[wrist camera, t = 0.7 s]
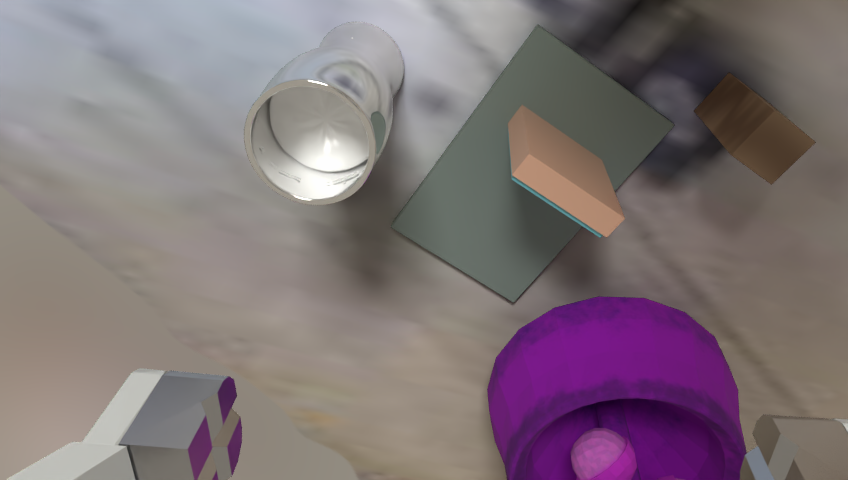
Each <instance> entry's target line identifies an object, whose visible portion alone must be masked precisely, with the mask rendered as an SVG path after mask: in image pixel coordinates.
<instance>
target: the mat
mask: <svg viewBox="0 0 848 480" xmlns="http://www.w3.org/2000/svg"><path fill="white" fill-rule="evenodd" d="M521 105H523V106H525V107H526V108H528V109H529V110H531V111H532V112H533V113H535V114H536V115H538V116H539V117H541V118H542V119H544V120H545V121H546V122H548V123H549V124H551V125H552V126H554V127H555V128H557V129H558V130H559V131H561V132H562V133H564V134H565V135H567V136H568V137H570V138H571V139H573V140H574V141H575V142H577V143H578V144H580V145H581V146H583V147H584V148H586V149H587V150H588V151H590V152H591V153H593V154H594V155H596V156H597V157H599V158H600V159H601V160H602V161H603V164H604V166H605V169H606V171H607V174H608V176H609V179H610V181H611V184H612V186H613V189H614V192H615V190H616V189H617V188H618V187H619V186H620V185H621V184H622V183H623V182H624V181H625V179H626V178H627V177H628V176H629V175H630V174H631V173H632V172H633V171H634V170H635V168H636V167H637V166H638V165H639V164H640V163H641V162H642V161H643V160H644V159H645V157H646V156H647V155H648V154H649V153H650V152H651V151H652V150H653V149H654V148H655V146H656V145H657V144H658V143H659V142H660V141H661V140H662V139H663V138H664V137H665V135H666V134H667V133H668V132H669V131H670V130H671V129H672V128H673V127H674V126H675V125H674V124H673V122H671V121H670V120H668V119H667V118H666V117H664V116H663V115H662V114H660V113H659V112H657V111H656V110H655V109H653V108H652V107H651V106H649V105H648V104H646V103H645V102H644V101H642V100H641V99H640V98H638V97H637V96H635V95H634V94H633V93H631V92H630V91H629V90H627V89H626V88H624V87H623V86H622V85H620V84H619V83H618V82H616V81H615V80H613V79H612V78H611V77H609V76H608V75H607V74H605V73H604V72H602V71H601V70H600V69H598V68H597V67H596V66H594V65H593V64H591V63H590V62H589V61H587V60H586V59H585V58H583V57H582V56H580V55H579V54H578V53H576V52H575V51H574V50H572V49H571V48H569V47H568V46H567V45H565V44H564V43H563V42H561V41H560V40H558V39H557V38H556V37H554V36H553V35H552V34H550V33H549V32H547V31H546V30H545V29H543V28H542V27H541V26H539V25H538V24H537V26H536V27H535V28H534V30H533V31H532V33H531V34H530V35H529V37H528V38H527V39H526V41H525V42H524V44H523V45H522V46H521V48H520V49H519V50H518V52H517V53H516V54H515V56H514V57H513V59H512V60H511V61H510V63H509V64H508V65H507V67H506V68H505V69H504V71H503V72H502V74H501V75H500V76H499V78H498V79H497V80H496V82H495V83H494V85H493V86H492V87H491V89H490V90H489V91H488V93H487V94H486V95H485V97H484V98H483V100H482V101H481V102H480V104H479V105H478V106H477V108H476V109H475V111H474V112H473V113H472V115H471V116H470V117H469V119H468V120H467V121H466V123H465V124H464V126H463V127H462V128H461V130H460V131H459V132H458V134H457V135H456V137H455V138H454V139H453V141H452V142H451V143H450V145H449V146H448V147H447V149H446V150H445V152H444V153H443V154H442V156H441V157H440V158H439V160H438V161H437V163H436V164H435V165H434V167H433V168H432V169H431V171H430V172H429V173H428V175H427V176H426V178H425V179H424V180H423V182H422V183H421V184H420V186H419V187H418V189H417V190H416V191H415V193H414V194H413V195H412V197H411V198H410V199H409V201H408V202H407V204H406V205H405V206H404V208H403V209H402V210H401V212H400V213H399V215H398V216H397V217H396V219H395V220H394V221H393V223H392V225H391V228H393V229H394V230H396V231H398V232H399V233H401V234H403V235H404V236H406V237H407V238H409V239H411V240H412V241H414V242H416V243H417V244H419V245H420V246H422V247H424V248H425V249H427V250H429V251H430V252H432V253H434V254H435V255H437V256H438V257H440V258H442V259H443V260H445V261H447V262H448V263H450V264H451V265H453V266H455V267H456V268H458V269H460V270H461V271H463V272H464V273H466V274H468V275H469V276H471V277H473V278H474V279H476V280H477V281H479V282H481V283H482V284H484V285H486V286H487V287H489V288H491V289H492V290H494V291H495V292H497V293H499V294H500V295H502V296H504V297H505V298H507V299H508V300H510V301H512V302H513V303H514V302H515V300H516V299H517V298H518V297H519V296H520V295H521V294H522V293H523V292H524V291H525V289H526V288H527V287H528V286H529V285H530V284H531V283H532V282H533V281H534V280H535V278H536V277H537V276H538V275H539V274H540V273H541V272H542V271H543V270H544V269H545V267H546V266H547V265H548V264H549V263H550V262H551V261H552V260H553V259H554V258H555V256H556V255H557V254H558V253H559V252H560V251H561V250H562V249H563V248H564V247H565V245H566V244H567V243H568V242H569V241H570V240H571V239H572V238H573V237H574V236H575V234H576V233H577V232H578V231H579V230H580V229H581V228H582V227H583V226H581V225H580V224H578V223H577V222H575V221H574V220H572V219H571V218H569V217H568V216H566V215H565V214H563V213H562V212H560V211H559V210H557V209H556V208H554V207H553V206H551V205H550V204H548V203H547V202H545V201H544V200H542V199H540V198H539V197H537V196H536V195H534V194H533V193H531V192H530V191H528V190H527V189H525V188H524V187H522V186H521V185H519V184H518V183H516V182H515V181H513V180H512V179H511V166H510V153H509V140H508V122H509V121H510V120H511V118H512V117H513V116H514V114H515V113H516V112H517V111H518V109H519V108H520V107H521Z"/></svg>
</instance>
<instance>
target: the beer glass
mask: <svg viewBox="0 0 848 480" xmlns="http://www.w3.org/2000/svg"><path fill="white" fill-rule="evenodd" d="M403 75H404V63H403V58H402V55H401V52H400V50H399V48H398V46H397V44H396V43H395V41H394V40H393V39H392V37H391V36H390V35H389V34H388V33H386V32H385V31H384V30H382V29H381V28H379V27H377V26H375V25H373V24H370V23H366V22H348V23H344V24H341V25H339V26H337V27H335V28H334V29H332V30H331V31H330V32H329V33H328V34H327V35H326V36H325V37H324V38H323V40H322V42H321V43H320V45H319V47H318V48H315V49H312V50H310V51H307V52H305V53H303V54H301V55H299V56H297V57H295V58H294V59H293V60H291V61H290V62H289V63H287V64H286V65H285V66H284V67H283V68H281V69H280V70H279V71H278V73H277V74H276V75H275V76H274V77H273V78H272V79H271V81H270V82H269V83H268V84H267V86H266V87H265V89H264V90H263V92H262V93H261V95H260V96H259V97H258V99H257V100H256V101H255V102H254V104H253V105H252V107H251V109H250V111H249V113H248V115H247V118H246V122H245V127H244V143H245V149H246V153H247V156H248V159H249V161H250V163H251V165H252V167H253V169H254V170H255V172H256V173H257V175H258V176H259V177H260V178H261V180H262V181H263V182H264V183H265V184H266V185H267V186H268V187H270V188H271V189H272V190H273V191H275V192H276V193H278V194H279V195H281V196H283V197H285V198H287V199H289V200H292V201H294V202H298V203H301V204H307V205H328V204H333V203H336V202H339V201H342V200H344V199H346V198H348V197H350V196H351V195H353V194H354V193H355V192H356V191H358V190H359V189H360V188H361V187H362V186H363V184H364V183H365V182H366V180H367V179H368V177H369V175H370V173H371V171H372V169H373V168H374V166H375V164H376V163H377V161H378V159H379V158H380V156H381V154H382V152H383V150H384V147H385V145H386V143H387V140H388V137H389V133H390V130H391V126H392V119H393V97H394V96H395V95H396V93H397V92H398V90H399V88H400V86H401V83H402V80H403Z"/></svg>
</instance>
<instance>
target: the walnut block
mask: <svg viewBox="0 0 848 480" xmlns="http://www.w3.org/2000/svg"><path fill="white" fill-rule="evenodd" d="M694 112H695V113H696V114H697V115H698V117H699V118H700V119H701V120H702V121H703V122H704V124H705V125H706V126H707V127H708V128H709V130H710V131H711V132H712V133H713V134H714V135H715V137H716V138H717V139H718V140H719V141H720V143H721V144H722V145H723V146H724V147H725V148H726V150H727V151H728V152H729V153H730V154H731V155H732V156H733V157H734V158H736V159H737V160H739V161H740V162H741V163H743V164H744V165H745V166H747V167H748V168H749V169H751V170H752V171H754V172H755V173H756V174H758V175H759V176H760V177H762V178H763V179H765V180H766V181H767V182H769V183H770V184H771V185H772V184H773V183H774V182H775V181H776V180H777V179H778V178H779V177H780V176H781V175H782V174H783V173H784V172H785V171H786V170H787V169H788V168H789V167H790V166H791V165H793V164H794V163H795V162H796V161H797V160H798V159H799V158H800V157H801V156H802V155H803V154H804V153H805V152H806V151H807V150H808V149H809V148H810V147H811V146H812V145H813V144H814V143H816V142H815V141H814V140H812V139H811V138H810V137H809V136H808V135H806V134H805V133H804V132H803V131H802V130H801V129H799V128H798V127H797V126H796V125H795V124H793V123H792V122H791V121H790V120H789V119H787V118H786V117H785V116H784V115H783V114H781V113H780V112H779V111H778V110H777V109H775V108H774V107H773V106H772V105H771V104H770V103H768V102H767V101H766V100H765V99H763V98H762V97H761V96H760V95H758V94H757V93H756V92H754V91H753V90H752V89H750V88H749V87H748V86H746V85H745V84H744V83H743V82H741V81H740V80H739V79H737V78H736V77H735V76H733V75H732V74H731V73H728V74H727V75H726V76H725V77H724V78H723V80H722V81H721V82H720V83H719V84H718V85H717V86H716V87H715V88H714V89H713V91H712V92H711V93H710V94H709V95H708V96H707V97H706V98H705V99H704V100H703V101H702V103H701V104H700V105H699V106H698V107H697V108H696V109H695V110H694Z"/></svg>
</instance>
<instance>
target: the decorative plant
mask: <svg viewBox="0 0 848 480" xmlns="http://www.w3.org/2000/svg"><path fill="white" fill-rule="evenodd" d="M487 390H488V402H489V412H490V417H491V423H492V428H493V433H494V438H495V442H496V445H497V447H498V450H499V452H500V455H501V457H502V460H503V462H504V465H505V470H506V475H507V480H740V470H741V466H742V463H743V460H744V456H745V455H746V454H747V452H746V447H745V443H744V438H743V434H742V429H741V424H740V420H739V401H738V389H737V386H736V384H735V381H734V378H733V376H732V373H731V371H730V368H729V366H728V364H727V362H726V360H725V357H724V355H723V353H722V351H721V349H720V347H719V345H718V343H717V341H716V339H715V337H714V336H713V335H712V334H711V333H709V332H708V331H707V330H706V329H705V328H703V327H702V326H701V325H700V324H698V323H697V322H696V321H695V320H694V319H692V318H691V317H690V316H689V315H688V314H686V313H685V312H682V311H680V310H677V309H674V308H671V307H668V306H665V305H663V304H660V303H657V302H654V301H651V300H648V299H646V298H626V297H595V298H591V299H587V300H583V301H579V302H575V303H571V304H567V305H563V306H559V307H555V308H553V309H552V310H550V311H548V312H547V313H545V314H543V315H542V316H540V317H539V318H537V319H535V320H534V321H532V322H530V323H529V324H527V325H525V326H524V327H522V328H521V329H519V330H518V331H517V333H516V334H515V335H514V336H513V338H512V339H511V340H510V341H509V343H508V344H507V345H506V346H505V347H504V349H503V350H502V351H501V352H500V354H499V355H498V356H497V357H496V360H495V363H494V367H493V371H492V374H491V378H490V382H489V385H488V389H487Z"/></svg>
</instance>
